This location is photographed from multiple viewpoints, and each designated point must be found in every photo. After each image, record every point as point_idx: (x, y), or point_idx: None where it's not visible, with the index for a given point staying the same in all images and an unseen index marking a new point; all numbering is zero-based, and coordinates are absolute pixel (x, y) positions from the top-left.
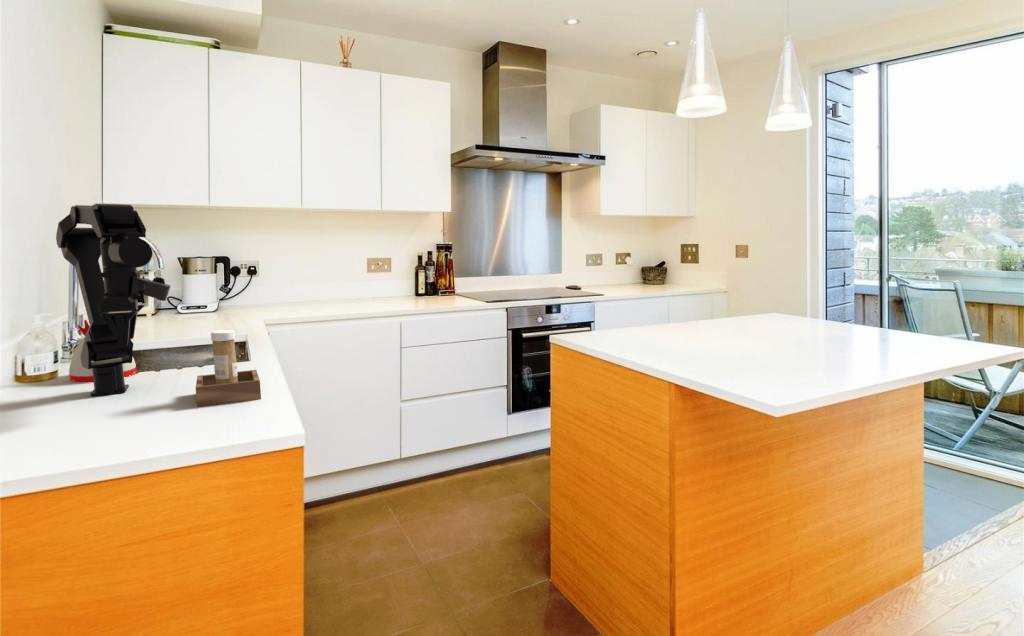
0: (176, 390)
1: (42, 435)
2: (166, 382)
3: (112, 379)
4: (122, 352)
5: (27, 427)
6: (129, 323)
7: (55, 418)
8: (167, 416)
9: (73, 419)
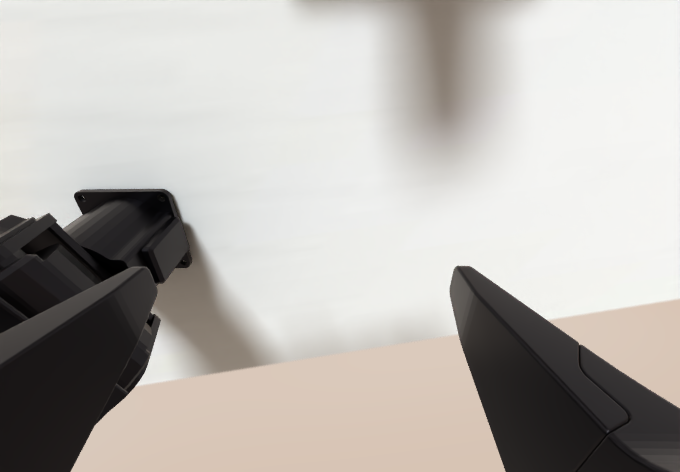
0: (170, 7)
1: (529, 286)
2: (8, 67)
3: (162, 240)
4: (74, 267)
5: (436, 317)
6: (626, 398)
7: (390, 290)
8: (600, 6)
9: (426, 258)
